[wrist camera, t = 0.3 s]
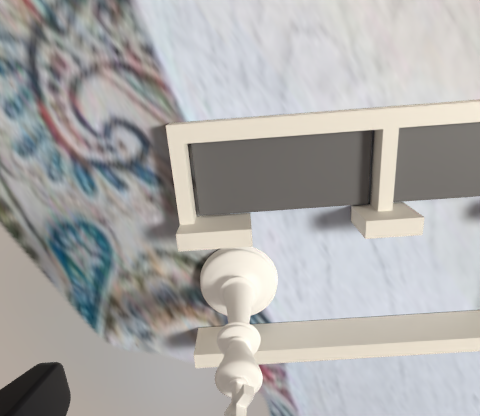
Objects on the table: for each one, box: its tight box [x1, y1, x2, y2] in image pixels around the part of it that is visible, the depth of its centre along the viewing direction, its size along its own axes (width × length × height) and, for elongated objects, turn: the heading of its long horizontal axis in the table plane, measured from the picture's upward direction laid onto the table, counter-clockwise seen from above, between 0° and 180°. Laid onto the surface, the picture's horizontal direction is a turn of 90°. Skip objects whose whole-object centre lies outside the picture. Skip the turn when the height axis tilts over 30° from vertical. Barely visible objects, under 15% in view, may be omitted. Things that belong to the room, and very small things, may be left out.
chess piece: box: [200, 247, 278, 416], centre depth 17 cm, size 5×5×10 cm
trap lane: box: [166, 100, 480, 368], centre depth 20 cm, size 14×22×2 cm, turn 94°
